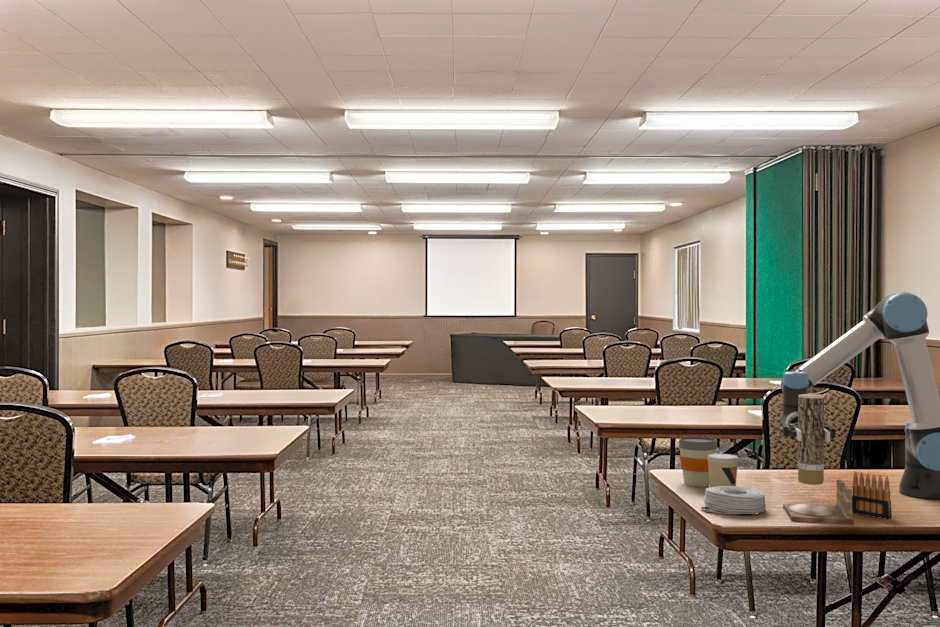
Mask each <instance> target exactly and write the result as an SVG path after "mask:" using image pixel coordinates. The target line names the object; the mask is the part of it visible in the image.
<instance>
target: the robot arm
mask: <svg viewBox="0 0 940 627" xmlns="http://www.w3.org/2000/svg"><path fill="white" fill-rule="evenodd" d="M925 303H926V302H924V301H923V300H922V299H921V298H920V297H919V296H917V294H916V295H915V294H914V293H910V292H905V291H904V292H898V293H891V294H889V295H886V296H885V297H883V299H882V300H881V301H879V302H878V303H877V304H876V305H875V306H874V307H873V308H872V309H871V310H869V311H868V312H867V313H865V314H864V315H863V318H862V321H860V322H859V323H858V324H856V325H855V326H853V327H852V328H850V329H849V330H848V331H847V332H845V333H844V334H843V335H841V336H840V337H839V338H837V339H836V340H835V341H833V342H832V343H830V344H829V345H828V346H826V347H825V348H824V349H822V350H821V351H819V352H818V353H817V354H816V355H814V356H813V357H812V358H810V359H809V360H807V361H806V362H804V363H803V364H802V365H801V366H799V367H798V368H797V369H795V370H793V371H785V372H784V373H783V378H782V380H781V382H780V389H781V391H782V413H781V416H780V424H779V427H780V428H779V429H780V430H779V432H781V433H782V436H783V437H788V435H789V439H790V440H795V439H796V440H797V442H798V441H802V431H801V430H799V429H798V396H799V395H800V394H809V390H811V389H812V388H813V387H815V386H816V385H817V384H819V383H820V382H821V381H823V380H824V379H826V378H827V377H828V376H830V375H831V374H833V373H834V372H835V371H837V370H838V369H839V368H841V367H842V366H844V365H845V364H847V363H848V362H849V361H850V360H852V359H853V358H855V357H856V356H857V355H859V354H860V353H861V352H863V351H865V350H866V349H867V348H869V347H870V346H871V345H873V344H874V343H875V342H877V341H878V340H881V339H882V340H886V339H887V341H888V342H890V343H892V344H893V346H894V350H895V353H896V358H897V362H898V366H899V370H900V371H899V372H900V374H901V379H902V383H903V387H904V392H905V395H906V400H907V404H908V409H909V413H910V417H911V420H912V421H907V422H906V423H905V427H904V433H905V434H904V437H905V438H904V441H905V442H904V450H905V452H904V455H905V456H904V457H905V458H904V459H905V460H904V461H905V462H904V464H905V465H904V470H903V473H902V477H901V478H900V481H899V485H898V491H899V493H900V494H903V495H905V496H911V497H914V498H920V499H933V500H936V499H937V500H940V395H939V391H938V386H937V383H936V378H935V375H934V370H933V366H932V361H931V358H930V354H929V349H928V345H927V337H928V336H929V334H930V330H929V325H928V321H927V319H928V308H927V305H926V304H925ZM836 433H837V432H836V428H834V427H833V426H832V427H831V426H830V425H828V424H825V423H824V441H826V442H827V443H829V442H830V443H831V439H835V438H836V437H837V436H836V435H837V434H836Z"/></svg>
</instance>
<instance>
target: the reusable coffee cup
mask: <svg viewBox="0 0 940 627" xmlns="http://www.w3.org/2000/svg"><path fill="white" fill-rule="evenodd" d="M678 448H679V451H680V452H679V453H680V454H679V463H680V468H681V470H682V474H683V475H682V476H683V477H682V478H683V483H684V485H686V486H691V487H710V486H709V470H708V459H707V458H708V455H710V454H717V451H716V450H718V444H717V439H716V438H711V437H708V436H707V437H706V436H705V437H704V436H683V437H680V438H679V442H678Z"/></svg>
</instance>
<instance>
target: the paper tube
mask: <svg viewBox="0 0 940 627" xmlns="http://www.w3.org/2000/svg"><path fill="white" fill-rule="evenodd" d="M824 425H825V395H822V394H810V393H808V394H800V395H799V396H798V429H799V430H801V431H802V441H798V440H797V444H798V445H797V447H798V448H797V461H798V462H797V468H798V470H797V479H798V482H799V483H801V484H804V485H812V486H813V485H814V486H815V485H823V484H824V482H825V476H824V475H825V473H824V472H825V440H824Z"/></svg>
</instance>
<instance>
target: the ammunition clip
mask: <svg viewBox="0 0 940 627" xmlns="http://www.w3.org/2000/svg"><path fill="white" fill-rule="evenodd" d="M870 477H871V476H870V474H869V472H867V473H866V476H865V477H864V473H863V472H861V473H860V474H859V478H858V473H857V471H855V472H854V473H853V479H852V481H853V482H852V512H853V513H852V514H855V513H858V514H857V515H861V514H863V516H866V515H869V516H868V517H871V516H875V517H874V518H877V517H881V518H880V519H882V518H886V519H885V520H888V519H889V520H891V519H890V518H892V500H891V490H890V489H891V487H890V480H889V476H887V475H886V476H885V480H884V481H883V478H882V475H881V474H880V475H879V476H878V480H877V477H876V475H875V473H873V474H872V479H871V478H870ZM858 479H859V480H858ZM883 482H884V483H883ZM892 519H893V518H892Z"/></svg>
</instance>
